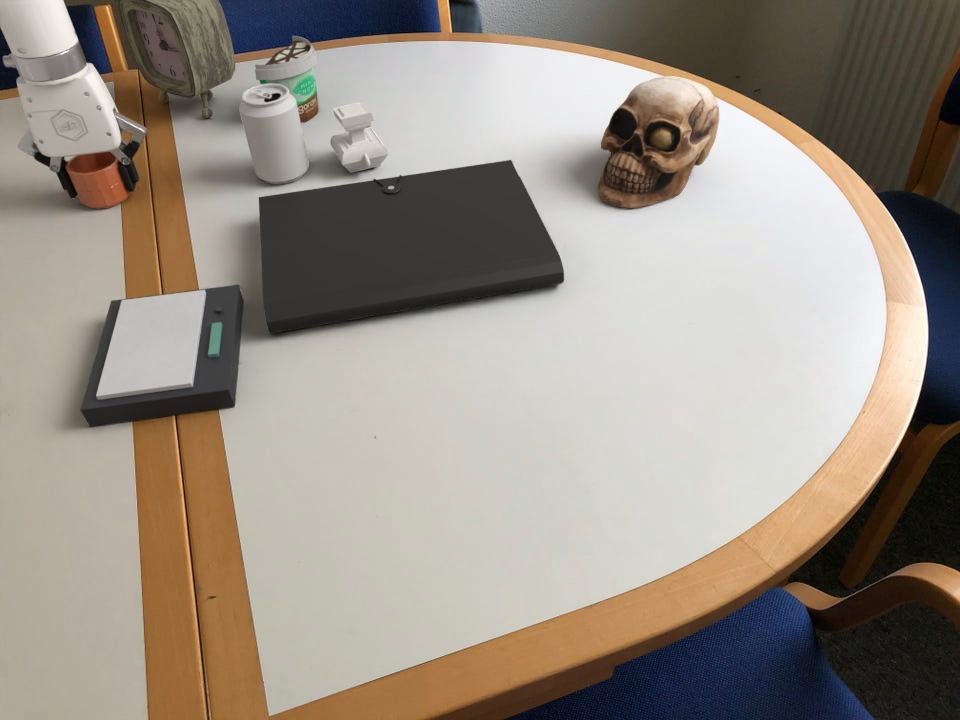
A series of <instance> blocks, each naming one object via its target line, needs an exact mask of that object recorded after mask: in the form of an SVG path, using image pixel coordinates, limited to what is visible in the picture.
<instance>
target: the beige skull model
mask: <svg viewBox="0 0 960 720" xmlns="http://www.w3.org/2000/svg"><path fill="white" fill-rule="evenodd" d="M611 115H612V116H611V117H610V119H609V122H608V125H607V127H606V128H605V130H604V132H603V134H602V135H603V136H602V138H601V141H600V148H601V149H602V150H603V151H608V152H609V156H608V158H607V161H606V163H605V165H604V166H603V169H602V172H601V175H600V177H599V181H598V184H597V191H598V194H599V198H600V200H601V201H602V202H604V203H607V204H608V205H611V206H613V207H618V208H629V209H637V208H643V207H647V206H650V205H653V204H656V203H657V202H663V201H666V200H667V199H669V198H674V197H675V198H676V197H677V196H679V195H680V194H681V193H683V191H684V189H685V188H686V186H687V184H688V181H689V179H690V177H691V174H692V172H693V169H694V168H695V167H696V166H697V167H698V166H701V165H703V164H704V162H705V161H706V159H707V158H708V156H709V154H710V152H711V150H712V147H713V146H714V144H715V141H716V138H717V133H718V128H719V124H720V107H719V103H718V101H717V98H716V96H715V95H714V93H713V92H712V91H711V90H710V89H709V88H708V87H707V86H706V85H704V84H702V83H699V82H697V81H694V80H692V79H689V78H685V77H682V76H676V75H668V76H667V75H666V76H659V77H655V78H651V79H649V80H646V81H643V82H641V83H639V84H637V85H636V86H634V88H633V89H632V90H630V92H629V94H628V96H627V97H626V99H625V100H624V101H623V102H622V103H621V104H620V105H619V106H618V107H617V109H615V111H614V112H613V113H612V114H611Z"/></svg>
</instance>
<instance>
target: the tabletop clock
mask: <svg viewBox="0 0 960 720" xmlns="http://www.w3.org/2000/svg"><path fill="white" fill-rule="evenodd" d="M117 4H118V5H117V6H118V11H119V16H120V20H121V23H122V26H123V30H124V33H125V37H126V40H127V43H128V45H129V48H130V51H131V54H132V56H133V58H134V61H135V63H136V66H137V68H138V70H139V72H140V74H141V75H142V77H143V79H144V80H145V81H146V82H147V83H148V84H149V85H150V86H153V87H154V88H156V89H158V90H161V91H162V92H160V93H158V97H157V98H158V101H159V102H161V103H163V104H166V103H167V102H169V100H170V96H169V94H170V95H173V96H176V97H181V98H186V99H192V98H195V97H197V96H199V95H200V97H201V101H202V104H203V108H202V110H201V114H202V116H203V117H204V118H206V119H210V118H212V117H213V115H214V112H213V109H211V107H209V104H208V103H209V102H208V101H210V100H211V99H213V95H214V94H213V92H212V89H214V88H215V87H219V86H220V85H222V84H224V83H226V82H229V81H230V80H232V78H233V76H234V74H235V71H236V56H235V51H234V46H233V42H232V38H231V34H230V30H229V26H228V22H227V19H226V16H225V12H224V10H223V7H222V5H221V2H220V1H219V0H117Z"/></svg>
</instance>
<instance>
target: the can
mask: <svg viewBox="0 0 960 720" xmlns="http://www.w3.org/2000/svg"><path fill="white" fill-rule="evenodd" d="M240 98H241V102H240V103H239V107H238V110H239V114H240V119H241V122H242V127H243V129H244V134H245V138H246V142H247V145H248V149H249V152H250V153H249V154H250V157H251V161H252V164H253V165H252V166H253V169H254V173H255V175H256V176H257V178H259V179H260V180H263V181H265V182H266V183H268V184H272V185H286V184H290V183H293V182H295V181H298V180H299V179H301V178H302V177H303V176H304V175H305V174H306V172H307V170H308V169H309V168H310V161H309V157H308V151H307V147H306V141H305V136H304V132H303V127H302V123H301V122H300V117H299V112H298V107H297V102H296V99H295V98H294V96H292V95H291V94H289V89H288V88H287V87H285V86H283V85H280V84H272V83H270V84H257V85H254V86H251V87H249V88H247V89H245V90H244V91H243V92H242V93H241V97H240Z"/></svg>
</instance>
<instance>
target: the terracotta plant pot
mask: <svg viewBox="0 0 960 720" xmlns="http://www.w3.org/2000/svg"><path fill="white" fill-rule="evenodd" d="M67 161H68V162H67V164H66V166H65V167H66V170H67V172H68V174H69V177H70V179H71V181H72V183H73V186H74V188H75V190H76V193H77V197H78V199H79V202H80V203H81V205H84V206H85V207H87V208H91V209H95V210H96V209H97V210H99V209H100V210H101V209H109V208H112V207H115V206H118V205H120V204H122V203H123V202H125V201H126V200H127V199H128V198H129V196H130V195H131V194H132V192H129V191H128V190H127V188H126V185H125V183H124V180H123V178H122V175H121V172H120V170H119V164H120V161H119V160H118V159H117V158H116V157H115V156H114V155H113V154H112V153H111V152H103V153H95V154H86V155H77V156H72V157H71V158H70V159H69V160H67ZM125 199H126V200H125ZM124 200H125V201H124ZM121 202H122V203H121Z"/></svg>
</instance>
